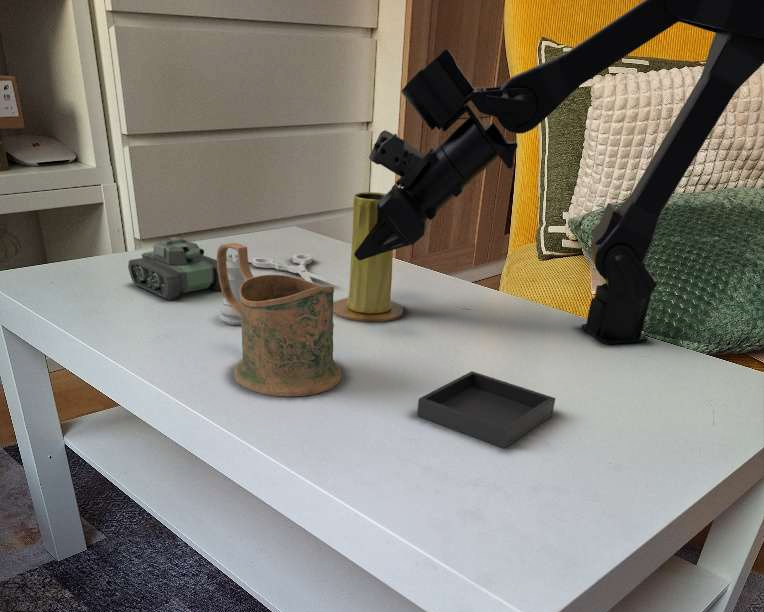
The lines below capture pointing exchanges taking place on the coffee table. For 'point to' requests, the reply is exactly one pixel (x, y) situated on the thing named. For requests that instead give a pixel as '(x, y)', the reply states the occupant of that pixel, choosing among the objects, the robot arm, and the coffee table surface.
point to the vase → (368, 262)
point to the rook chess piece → (235, 282)
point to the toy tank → (174, 269)
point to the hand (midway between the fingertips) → (362, 248)
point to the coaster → (345, 312)
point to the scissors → (300, 269)
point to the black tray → (486, 408)
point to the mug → (282, 331)
